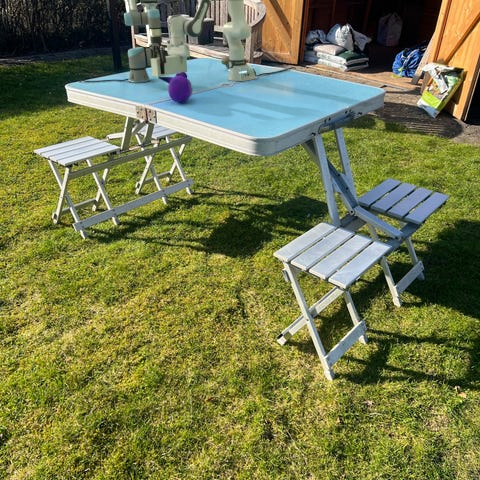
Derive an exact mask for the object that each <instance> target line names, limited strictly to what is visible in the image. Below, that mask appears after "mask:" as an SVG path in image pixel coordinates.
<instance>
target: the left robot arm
mask: <svg viewBox="0 0 480 480" xmlns="http://www.w3.org/2000/svg"><path fill="white" fill-rule="evenodd" d="M123 2H124V5H125V11H126V12H124V13H123V17H124V24H125V26H131V27H132V26H145V30H146V40H147V44H146V46H145V47H146V48H144V47H143V46H137V47H132V48H130V49H128V50H127V57H128V64H129V65H128V66H129V76H128V78H124V79H99V80H86V79H80V80H79V81H78V83H81V82H84V83H101V82H125V81H128V82H129V83H133V84H141V83H148V82H150V76H149V74H148V71H147V67H151V59H152V58H158V57H159V59H160V62H161V63H160V69H161V74H165V70H164V69H165V67H164V63H166V56H167V55H166V46H163V45H162V43H163V36H162V26H161V25H162V24H161V14H160V10H159V9H157V5H158V2H160V0H123ZM138 3H140V5H141V6H142V7H143V11H142V12H139V9H138Z"/></svg>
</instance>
